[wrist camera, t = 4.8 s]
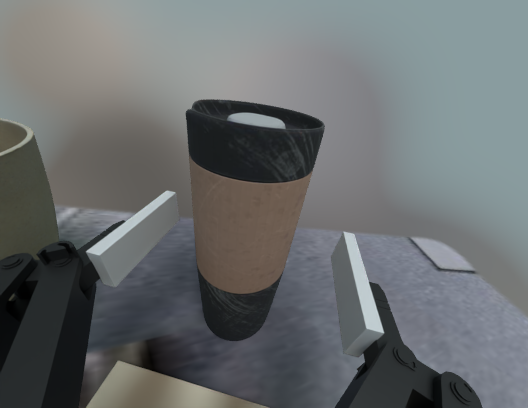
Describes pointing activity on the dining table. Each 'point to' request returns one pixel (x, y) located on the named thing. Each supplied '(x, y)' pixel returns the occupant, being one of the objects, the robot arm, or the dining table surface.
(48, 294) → the robot arm
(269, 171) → the travel mug
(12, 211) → the plant pot
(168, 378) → the post base
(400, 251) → the dining table surface
